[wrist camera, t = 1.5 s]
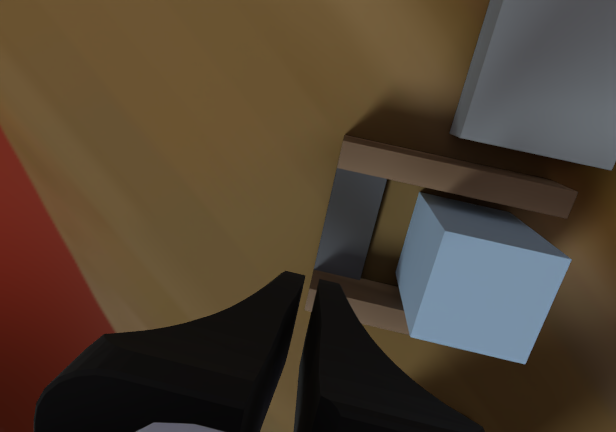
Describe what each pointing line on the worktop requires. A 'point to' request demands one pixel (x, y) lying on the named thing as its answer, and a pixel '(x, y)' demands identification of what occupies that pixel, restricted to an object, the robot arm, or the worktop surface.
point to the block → (476, 278)
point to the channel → (366, 201)
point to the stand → (544, 80)
